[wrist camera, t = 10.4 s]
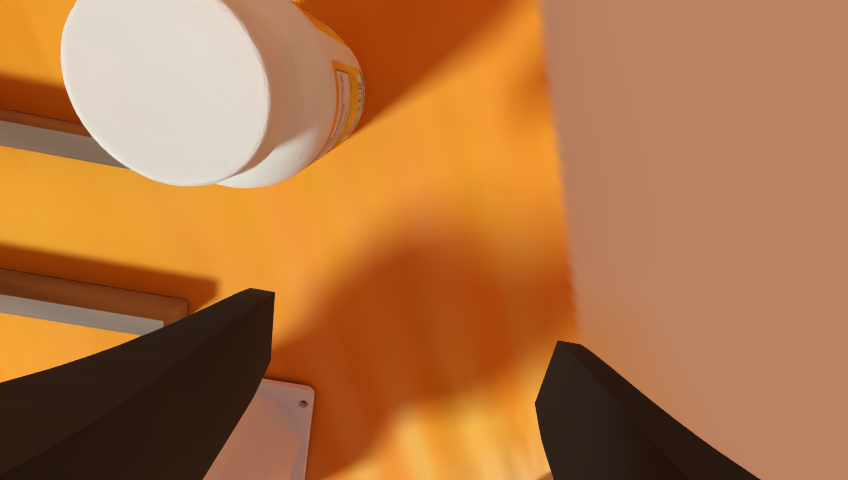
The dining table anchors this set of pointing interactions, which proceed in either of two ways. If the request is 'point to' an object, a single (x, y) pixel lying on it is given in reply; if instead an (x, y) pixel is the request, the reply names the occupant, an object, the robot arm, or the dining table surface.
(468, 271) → the dining table surface
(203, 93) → the supplement bottle
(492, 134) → the dining table surface
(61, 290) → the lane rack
